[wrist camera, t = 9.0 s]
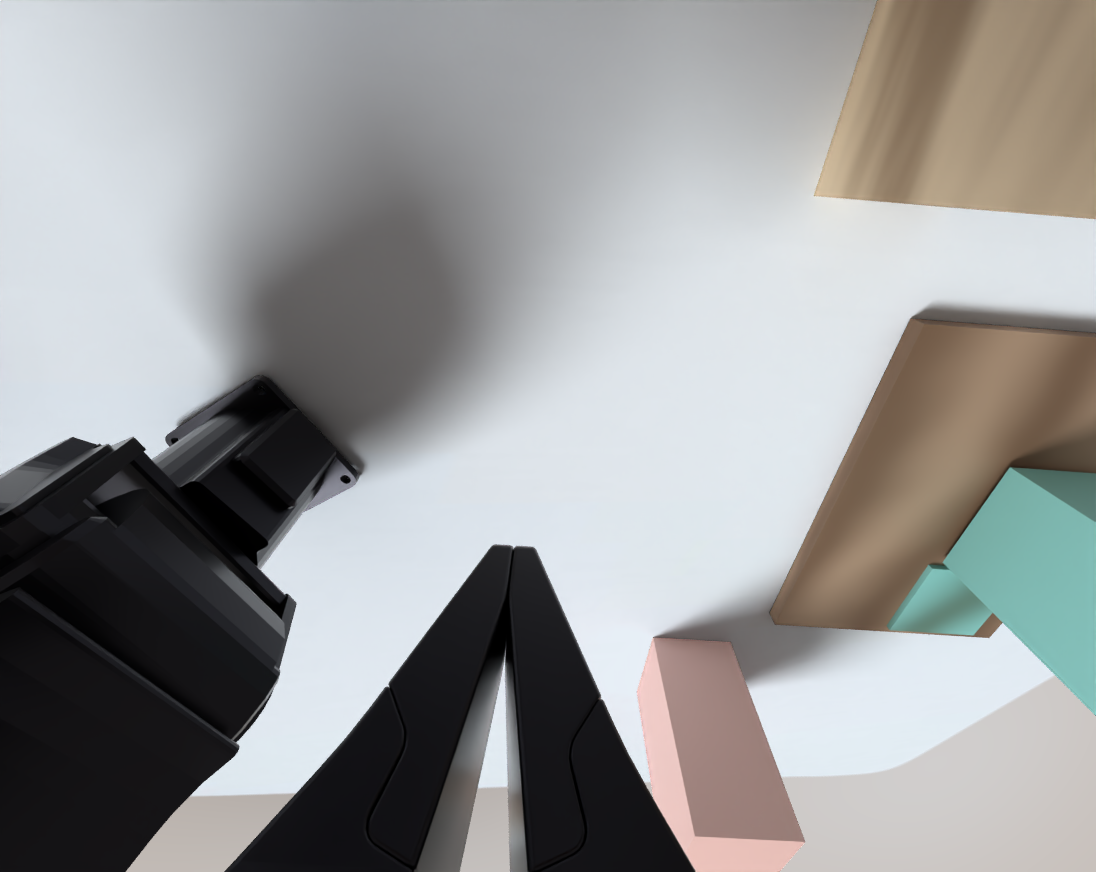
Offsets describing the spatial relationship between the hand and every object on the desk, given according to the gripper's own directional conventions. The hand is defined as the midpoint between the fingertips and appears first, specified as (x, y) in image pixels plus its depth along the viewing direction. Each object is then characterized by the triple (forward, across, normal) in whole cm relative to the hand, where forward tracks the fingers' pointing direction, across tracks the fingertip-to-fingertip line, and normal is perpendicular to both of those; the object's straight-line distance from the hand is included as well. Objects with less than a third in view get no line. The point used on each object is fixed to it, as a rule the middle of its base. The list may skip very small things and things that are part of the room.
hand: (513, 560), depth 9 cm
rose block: (+12, -11, +21) cm, 27 cm away
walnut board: (+12, -21, +6) cm, 25 cm away
